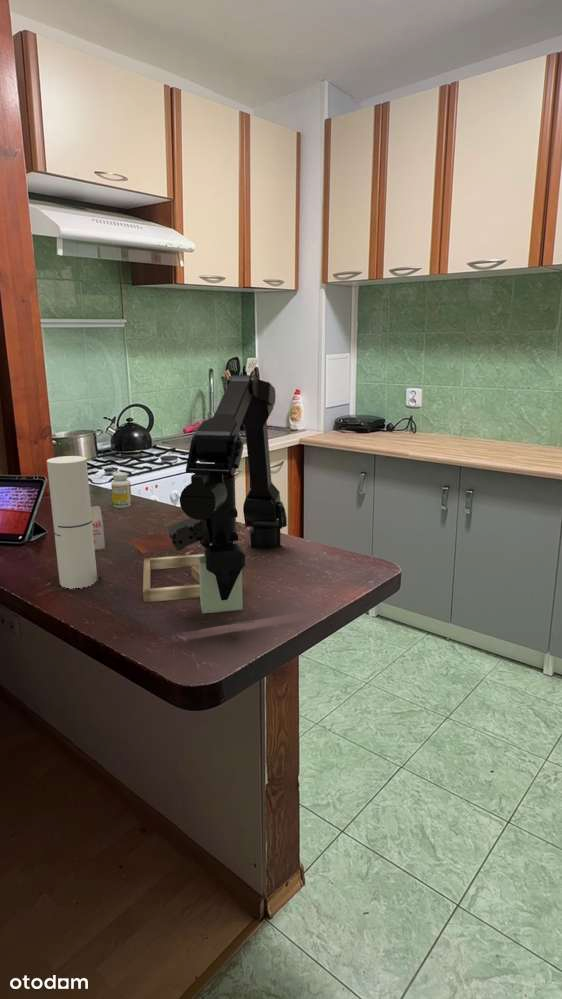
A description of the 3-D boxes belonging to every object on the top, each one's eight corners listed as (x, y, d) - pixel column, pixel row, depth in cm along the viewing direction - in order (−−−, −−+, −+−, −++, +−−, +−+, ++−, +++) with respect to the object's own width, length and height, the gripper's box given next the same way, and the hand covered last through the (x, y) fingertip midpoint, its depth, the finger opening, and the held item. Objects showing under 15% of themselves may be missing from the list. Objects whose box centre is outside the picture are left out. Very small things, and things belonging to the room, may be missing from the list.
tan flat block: (215, 571, 123) (214, 562, 122) (226, 581, 117) (226, 571, 117) (191, 575, 120) (191, 566, 120) (202, 586, 115) (201, 576, 115)
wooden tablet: (205, 568, 130) (205, 561, 130) (160, 577, 125) (160, 569, 125) (165, 534, 152) (164, 528, 152) (125, 540, 148) (125, 534, 147)
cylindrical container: (84, 590, 117) (72, 464, 110) (52, 586, 119) (38, 462, 112) (104, 577, 124) (93, 456, 117) (73, 573, 125) (61, 455, 119)
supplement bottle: (123, 509, 173) (120, 476, 170) (109, 507, 175) (106, 474, 173) (135, 504, 177) (133, 472, 175) (121, 502, 180) (119, 471, 177)
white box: (72, 549, 140) (67, 507, 138) (101, 544, 143) (98, 504, 141) (74, 554, 137) (70, 511, 134) (105, 549, 140) (101, 507, 137)
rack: (222, 568, 128) (221, 541, 126) (232, 601, 112) (231, 571, 110) (145, 574, 125) (143, 547, 123) (144, 609, 109) (141, 578, 107)
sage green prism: (239, 605, 109) (238, 553, 106) (242, 613, 105) (241, 560, 103) (200, 609, 107) (198, 556, 105) (202, 617, 104) (200, 563, 101)
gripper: (168, 491, 108) (172, 573, 112) (171, 521, 91) (176, 616, 95) (229, 488, 111) (232, 568, 115) (244, 517, 93) (246, 610, 97)
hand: (221, 589), depth 105 cm, fingers open, 9 cm apart
